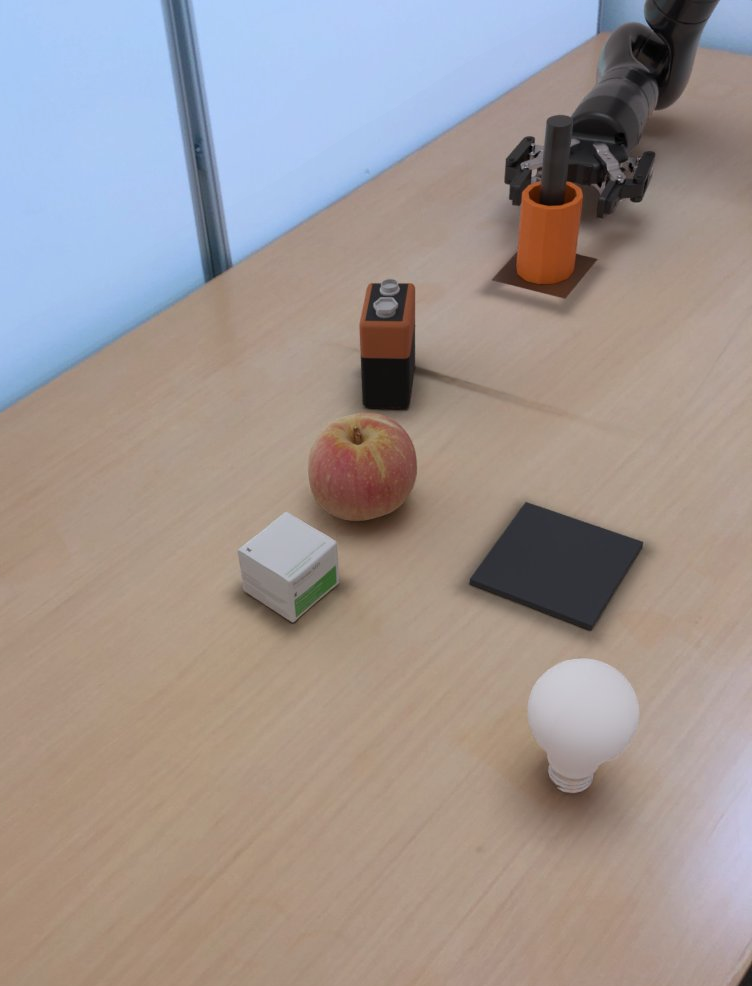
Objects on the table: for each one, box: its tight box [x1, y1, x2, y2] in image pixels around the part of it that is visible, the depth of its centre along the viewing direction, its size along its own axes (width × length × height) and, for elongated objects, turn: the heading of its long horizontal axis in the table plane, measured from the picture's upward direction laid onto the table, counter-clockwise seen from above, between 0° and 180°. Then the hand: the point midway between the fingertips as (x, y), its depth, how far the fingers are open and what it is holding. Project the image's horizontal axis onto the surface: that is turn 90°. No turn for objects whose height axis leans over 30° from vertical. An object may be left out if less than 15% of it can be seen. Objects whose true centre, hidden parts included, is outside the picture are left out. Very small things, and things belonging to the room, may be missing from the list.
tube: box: [516, 181, 584, 284], centre depth 109 cm, size 6×6×8 cm
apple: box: [307, 412, 418, 522], centre depth 90 cm, size 9×9×8 cm
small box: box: [237, 511, 340, 623], centre depth 85 cm, size 6×6×5 cm
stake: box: [491, 114, 599, 300], centre depth 106 cm, size 8×8×16 cm
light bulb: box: [526, 657, 640, 794], centre depth 69 cm, size 7×7×11 cm
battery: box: [358, 278, 416, 410], centre depth 99 cm, size 4×7×10 cm, turn 170°
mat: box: [469, 501, 644, 631], centre depth 86 cm, size 10×10×1 cm
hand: (557, 203), depth 108 cm, fingers open, 8 cm apart
